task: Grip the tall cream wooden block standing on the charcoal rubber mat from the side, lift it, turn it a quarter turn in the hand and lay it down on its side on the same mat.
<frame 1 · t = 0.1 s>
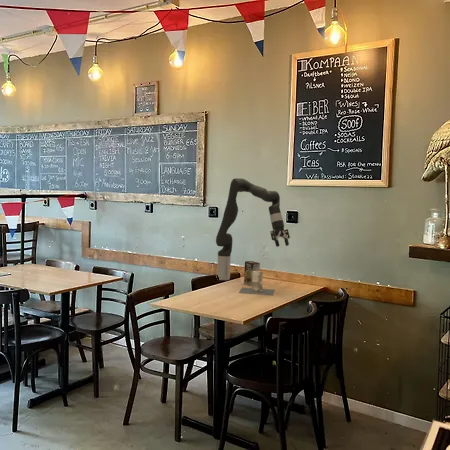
hand: (282, 246, 296), 31 cm above the table, tool tilted 20°, fingers open, 8 cm apart
mat: (256, 291, 306), on the table
coffee box: (251, 285, 326), on the table
block: (257, 291, 306), resting on mat
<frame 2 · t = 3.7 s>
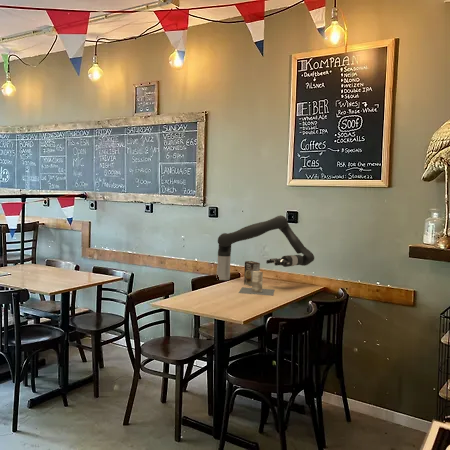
hand: (270, 262, 310), 18 cm above the table, tool horizontal, fingers open, 8 cm apart
nothing on the table moved.
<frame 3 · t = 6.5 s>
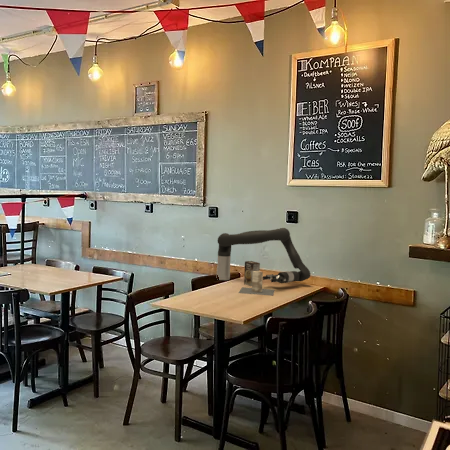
hand: (267, 279, 310), 7 cm above the table, tool horizontal, fingers open, 8 cm apart
nothing on the table moved.
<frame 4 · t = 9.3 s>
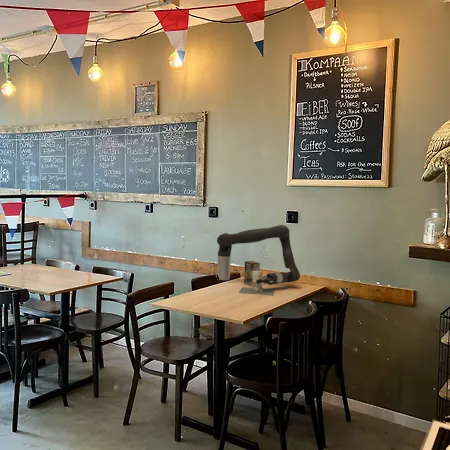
hand: (254, 280, 304), 7 cm above the table, tool horizontal, fingers closed on block, 4 cm apart
block: (256, 291, 306), resting on mat, touching gripper
everything else where it was.
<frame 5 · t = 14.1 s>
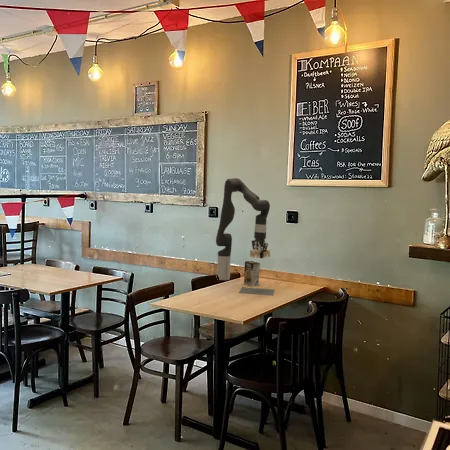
hand: (258, 257, 304), 23 cm above the table, tool pointing down, fingers closed on block, 4 cm apart
block: (267, 252, 308), point 25 cm above the table, tilted 90°, touching gripper
everything else where it was.
when the fingers open (2 cm above the table, at t = 17.9 s): block drops 2 cm, resting on mat.
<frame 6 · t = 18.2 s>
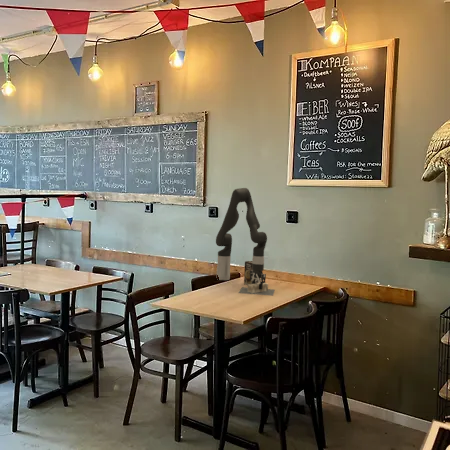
hand: (257, 288, 306), 3 cm above the table, tool pointing down, fingers open, 6 cm apart
block: (265, 286, 310), point 3 cm above the table, tilted 90°, touching mat
everything else where it was.
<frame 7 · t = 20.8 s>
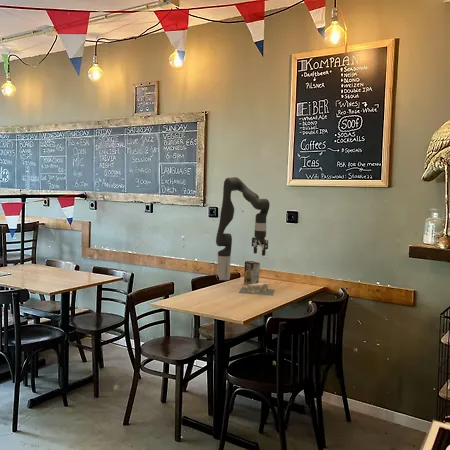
hand: (259, 254, 306), 24 cm above the table, tool pointing down, fingers open, 8 cm apart
nothing on the table moved.
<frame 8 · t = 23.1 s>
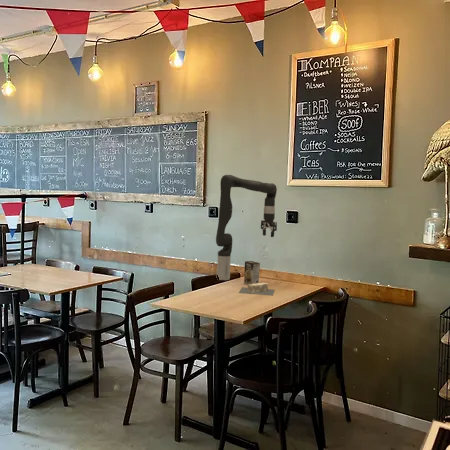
hand: (268, 236, 324), 34 cm above the table, tool pointing down, fingers open, 8 cm apart
nothing on the table moved.
at the end: block tilted 90°; block inside the target area (7.2 cm from its centre), point 2.7 cm above the table; the gripper is holding nothing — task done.
